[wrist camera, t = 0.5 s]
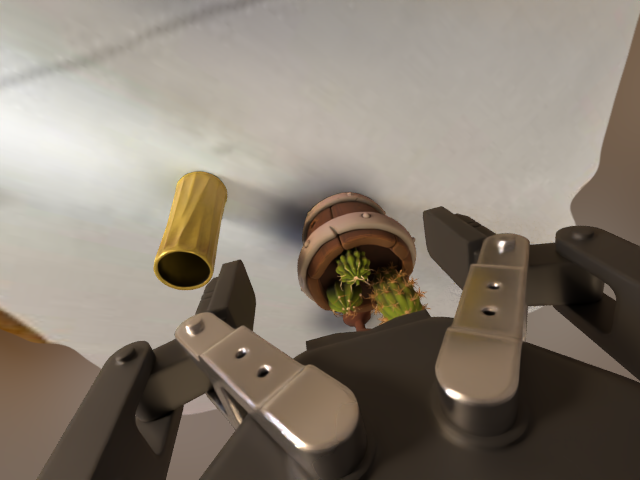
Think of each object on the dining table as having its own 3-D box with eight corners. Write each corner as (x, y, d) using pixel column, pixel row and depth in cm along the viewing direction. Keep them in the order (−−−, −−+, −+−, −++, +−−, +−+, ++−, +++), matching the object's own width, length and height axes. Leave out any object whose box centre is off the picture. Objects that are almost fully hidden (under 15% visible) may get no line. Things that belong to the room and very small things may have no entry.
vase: (199, 160, 39) (178, 234, 28) (237, 194, 43) (232, 271, 32) (165, 191, 41) (132, 271, 30) (204, 220, 44) (188, 302, 33)
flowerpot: (284, 259, 51) (298, 383, 35) (300, 168, 42) (327, 282, 26) (373, 263, 54) (420, 377, 39) (405, 179, 45) (483, 286, 30)
